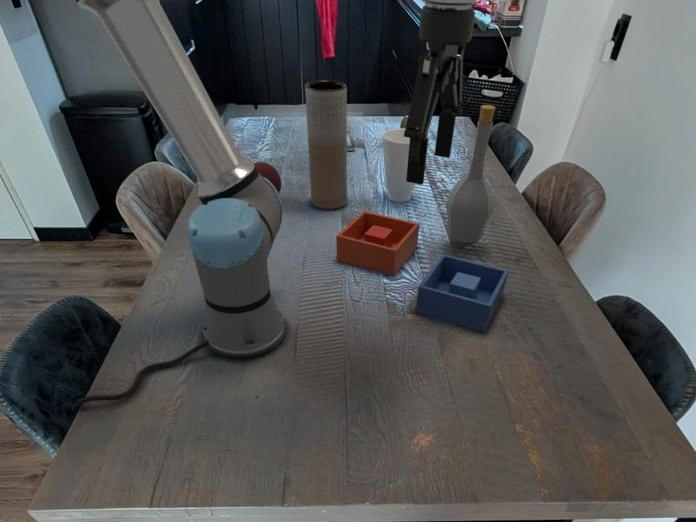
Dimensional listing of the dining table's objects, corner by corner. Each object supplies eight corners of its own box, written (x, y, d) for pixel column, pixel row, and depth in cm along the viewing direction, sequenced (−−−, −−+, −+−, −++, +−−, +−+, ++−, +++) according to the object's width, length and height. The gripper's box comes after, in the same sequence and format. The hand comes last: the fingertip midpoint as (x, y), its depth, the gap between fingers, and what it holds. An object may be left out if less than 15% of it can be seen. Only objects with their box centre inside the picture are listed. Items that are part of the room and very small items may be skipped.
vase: (353, 200, 134) (354, 83, 114) (334, 213, 128) (331, 92, 108) (324, 192, 137) (320, 77, 117) (304, 204, 132) (296, 85, 111)
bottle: (449, 260, 112) (474, 116, 90) (432, 238, 120) (451, 100, 98) (492, 255, 115) (527, 113, 93) (473, 234, 122) (500, 98, 100)
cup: (398, 209, 131) (402, 146, 119) (370, 195, 137) (372, 133, 125) (428, 198, 136) (436, 137, 124) (400, 185, 142) (405, 125, 131)
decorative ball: (273, 211, 128) (268, 172, 121) (240, 205, 130) (233, 166, 123) (288, 197, 135) (285, 159, 127) (257, 191, 137) (252, 154, 129)
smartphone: (349, 134, 170) (353, 148, 160) (349, 136, 171) (353, 151, 161) (329, 133, 170) (331, 148, 159) (329, 136, 170) (331, 151, 160)
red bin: (393, 275, 107) (395, 250, 103) (336, 260, 111) (336, 235, 107) (417, 247, 116) (419, 223, 112) (363, 234, 120) (363, 210, 116)
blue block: (469, 310, 97) (474, 289, 94) (446, 304, 99) (450, 283, 95) (476, 298, 101) (480, 277, 97) (453, 292, 102) (457, 271, 98)
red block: (383, 258, 111) (384, 238, 107) (363, 253, 112) (364, 233, 109) (391, 249, 114) (392, 229, 110) (372, 244, 116) (373, 224, 112)
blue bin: (484, 332, 94) (490, 306, 89) (415, 312, 98) (418, 286, 93) (502, 295, 103) (509, 270, 98) (438, 278, 107) (442, 253, 102)
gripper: (445, 20, 56) (424, 200, 72) (498, -2, 72) (471, 150, 87) (387, 14, 58) (379, 190, 74) (451, -6, 74) (433, 143, 90)
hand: (429, 168), depth 81 cm, fingers open, 13 cm apart
